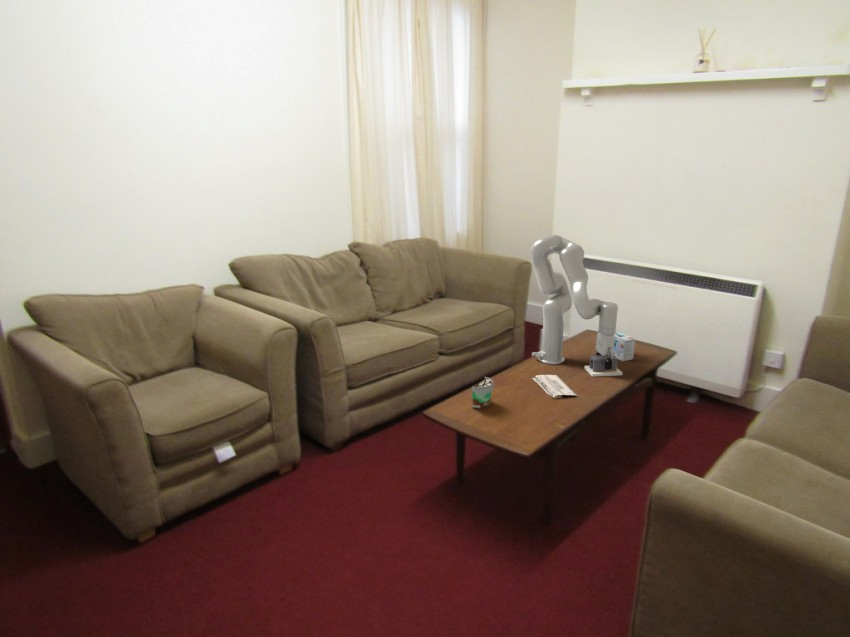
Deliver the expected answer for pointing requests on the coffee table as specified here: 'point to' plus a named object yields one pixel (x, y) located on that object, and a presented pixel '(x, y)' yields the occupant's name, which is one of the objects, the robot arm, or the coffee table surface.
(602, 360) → the block
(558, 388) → the newspaper
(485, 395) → the food container
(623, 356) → the light bulb box
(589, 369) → the board
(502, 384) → the coffee table surface
